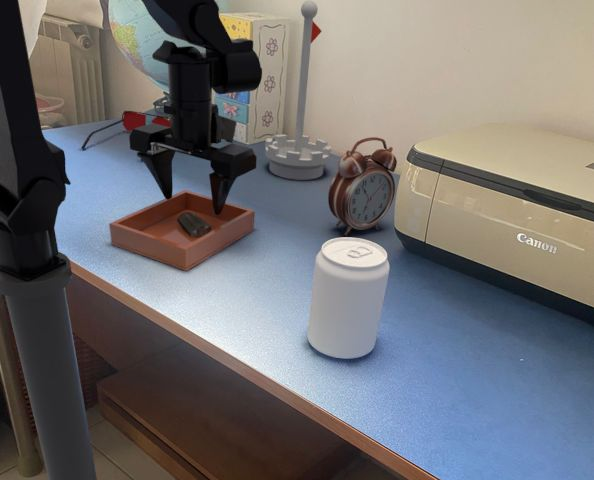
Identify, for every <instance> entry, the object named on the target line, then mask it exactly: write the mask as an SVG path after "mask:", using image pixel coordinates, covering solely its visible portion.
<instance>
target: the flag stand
mask: <svg viewBox="0 0 594 480" xmlns="http://www.w3.org/2000/svg"><path fill="white" fill-rule="evenodd" d="M300 13H301V16H302V17H303V30H302V31H303V32H302V45H301V56H300V68H299V80H298V81H299V82H298V92H297V93H298V94H297V96H298V97H297V106H296V108H297V109H296V110H297V111H296V119H295V120H296V121H295V130H294V131H295V133H294V139H288V135H287V134H276V135H274V138H270V137H268V138H266V139H265V145H264V146H265V147H264V148H265V149H264V155H265V157H267V158H268V160H269V167H268V168H269V171H270V172H271V174H273V175H276V176H278V177H280V178H284V179H289V180H297V181H307V180H314V179H318V178H320V177H322V176H323V174H324V167H325V165H326V164H327V163H329V161H330V160H331V152H332V151H331V149H332V146H331V145H328V141H326V140H324V139H321V138H318V139H316V140H315V141H316V142H312V141H310V136H309V135H304V127H305V126H304V125H305V114H306V105H307V104H306V101H307V93H308V92H307V90H308V80H309V68H310V57H311V47H312V46H311V44H313V42H314V41H315V40H316V39H317V37H319V35H320V34H321V33H322V29H321V28H320V26H319V25H317V24H316V23H315V22H314V18H315V17H316V16H317V14H318V5H317V4H316V2H315V1H314V0H305V1H304V2H303V3H302V4H301V7H300Z"/></svg>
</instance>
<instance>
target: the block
mask: <svg viewBox="0 0 594 480" xmlns="http://www.w3.org/2000/svg"><path fill="white" fill-rule="evenodd" d="M177 221H178V223H179V224H180V225H181V226H182V227H183V229H184V230H185V231H186V232H187V234H189V235H190V237H201V236H204V235H206V234H208V233H209V232H210V231H211V226H210V225H209V224H208V223H206V222H205V221H204V220H203V219H201V218H200V217H199V216H197V215H196V214H195V213H192V212H185V213H182V214H181V215H180V216H179V217H178V218H177Z"/></svg>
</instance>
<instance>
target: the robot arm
mask: <svg viewBox="0 0 594 480" xmlns="http://www.w3.org/2000/svg"><path fill="white" fill-rule="evenodd" d="M141 2H142V3H143V5H144V7H145V10H147V12H148V15H149V16H151V18H152V20H154V22H155V23H156V24H157V25H158V27H160V29H161V30H162V31H163V32H164V33H165V34H166V35H167V36H170V37H171V38H175V39H177V40H181V41H184V42H187V43H188V44H190V45H188V46H187V45H186V46H177V44H176V43H175V42H173V41H170V40H166V39H164V40H163V41H162V43H161V45H160V46H159V47H158V48H157V49H156V50H155V51H154V52H153V53H152V55H151V57H152V59H153V60H155V61H157V62H161V63H164V64H166V65H167V70H168V71H167V74H168V75H167V76H168V95H169V96H168V97H169V103H167V104H163V113H164V114H168V115H169V118H170V119H169V121H170V124H171V128H170V127H166V126H162V125H158V124H155V123H152V122H151V123H148V124H146V125H145V126H141V127H138V128H134V129H133V130H131V132H130V134H129V136H128V140H129V141H128V142H129V149H130V150H131V151H135V152H136V156H137V157H138V158H140V160H141V159H142V160H143V161H142V162H143V164H144V165H145V166H146V168H147V169H148V171H149V173H150V174H151V175H152V177H153V180H154V181H155V183H156V184H157V186H158V188H159V190H160V192H161V193H162V195H163V197H164V199H167V200H169V199H171V198H172V195H173V187H174V185H173V159H174V157H175V154H176V153H180V154H184V155H187V156H191V157H195V158H198V159H202V160H206V161H210V163H209V164H210V166H209V167H210V168H211V169H212V171H213V172H211V173H209V174H208V177H209V185H210V193H211V198H212V202H213V208H214V212H215V214H216V215H219V214H220V213H221V212H222V209H223V207H224V204H225V202H227V199H228V196H229V194H230V191H231V189H232V187H233V185H234V183H235V181H236V180H237V179H238V178H239V177H241V176H243V175H246V174H248V173H249V172H251V171H253V170H255V169H257V159H258V158H257V154H256V152H255V150H254V149H253V148H252V147H249V146H248V147H247V146H244V145H241V144H236V143H233V142H234V137H235V132H236V128H237V123H238V121H236V120H234V119H230V118H228V117H224V116H221V115H220V114H219V107H218V104H215V103H213V91H214V93H216V94H218V95H226V94H227V95H228V94H236V93H237V94H238V93H245V92H253V91H255V90H257V89H258V88H259V86H260V85H261V82H262V78H263V68H262V66H261V61H260V59H259V56H258V54H257V52H256V51H255V50H254V40H252V39H249V38H246V37H240V38H239V37H238V38H235V39H231V36H230V35H229V33H228V32H227V29H226V27H225V26H224V24H223V22H222V20H221V17H220V7H219V5H218V3H217V1H216V0H141ZM192 45H193V46H192ZM27 46H28V45H27V40H26V36H25V29H24V24H23V18H22V13H21V8H20V1H19V0H0V271H1V272H4V273H6V274H8V275H11V276H13V277H16V278H18V279H20V280H23V281H26V282H28V281H31V280H33V279H36V278H38V277H40V276H42V275H44V274H46V273H48V272H50V271H52V270H54V269H56V268H59V267H61V266H63V265H65V264H66V260H65V259H63V258H60V257H58V256H57V255H58V253H59V252H60V251H59V248H58V241H57V235H56V230H55V226H56V222H57V216H58V211H59V207H60V206H61V204H62V203H63V202H65V200H66V196H67V187H66V185H68V186H70V185H71V184H72V182H71V180H70V179H69V177H68V174H67V171H66V155H65V151H64V149H62V148H61V147H59V146H57V145H56V144H54V143H52V142H51V141H49V140H47V138H45V136H44V133H43V130H42V124H41V119H40V115H39V114H40V113H39V108H38V101H37V98H36V96H37V95H36V92H35V85H34V80H33V79H34V78H33V75H32V70H31V64H30V63H31V62H30V58H29V52H28V47H27ZM196 46H197V47H199V48H203V49H205V52H201V51H200V50H199V49H198V48H197V47H196ZM222 140H225V141H226V142H227V143H230V144H226V145H225V146H222V147H215V146H213V144H216V145H217V144H220V143H222Z"/></svg>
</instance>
